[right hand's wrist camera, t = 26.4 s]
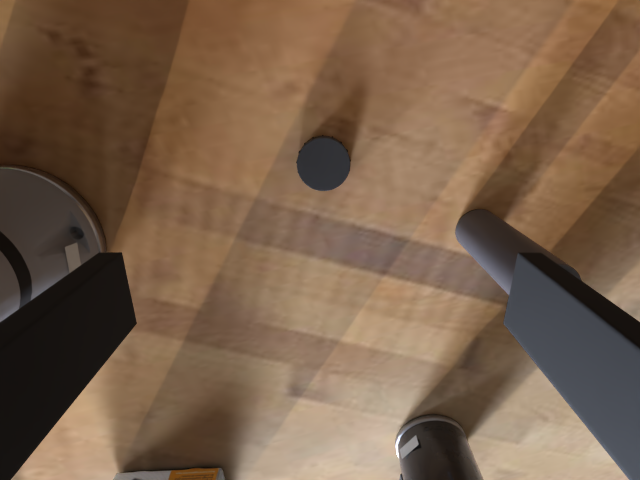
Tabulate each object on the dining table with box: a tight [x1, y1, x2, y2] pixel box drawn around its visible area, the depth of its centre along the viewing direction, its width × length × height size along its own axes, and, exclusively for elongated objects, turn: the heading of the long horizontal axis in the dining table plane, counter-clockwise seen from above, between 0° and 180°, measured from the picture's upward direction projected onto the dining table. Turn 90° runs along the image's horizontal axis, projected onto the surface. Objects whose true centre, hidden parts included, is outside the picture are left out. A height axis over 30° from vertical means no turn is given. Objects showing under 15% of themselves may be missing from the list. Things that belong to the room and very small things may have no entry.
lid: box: [296, 135, 350, 191], centre depth 36 cm, size 5×5×2 cm
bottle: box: [456, 209, 581, 295], centre depth 33 cm, size 4×4×15 cm
